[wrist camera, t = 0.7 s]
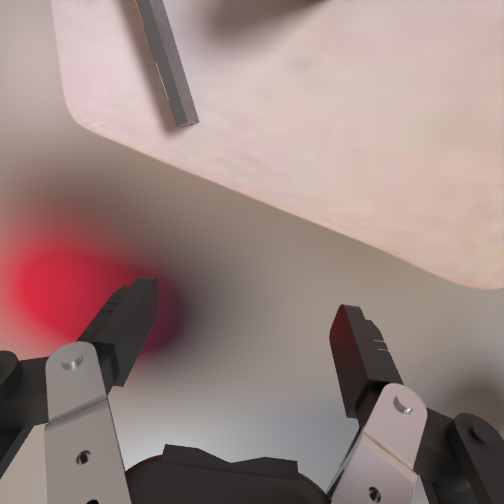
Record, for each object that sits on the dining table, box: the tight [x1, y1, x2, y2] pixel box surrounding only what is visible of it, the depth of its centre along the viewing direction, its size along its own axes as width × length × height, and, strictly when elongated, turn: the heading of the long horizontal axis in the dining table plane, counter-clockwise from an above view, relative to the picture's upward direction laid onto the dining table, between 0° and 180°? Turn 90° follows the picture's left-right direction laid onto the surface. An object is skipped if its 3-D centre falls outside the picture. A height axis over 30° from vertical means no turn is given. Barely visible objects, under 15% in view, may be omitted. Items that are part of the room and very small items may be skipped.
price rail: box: [135, 0, 199, 126], centre depth 25 cm, size 20×2×3 cm, turn 15°
